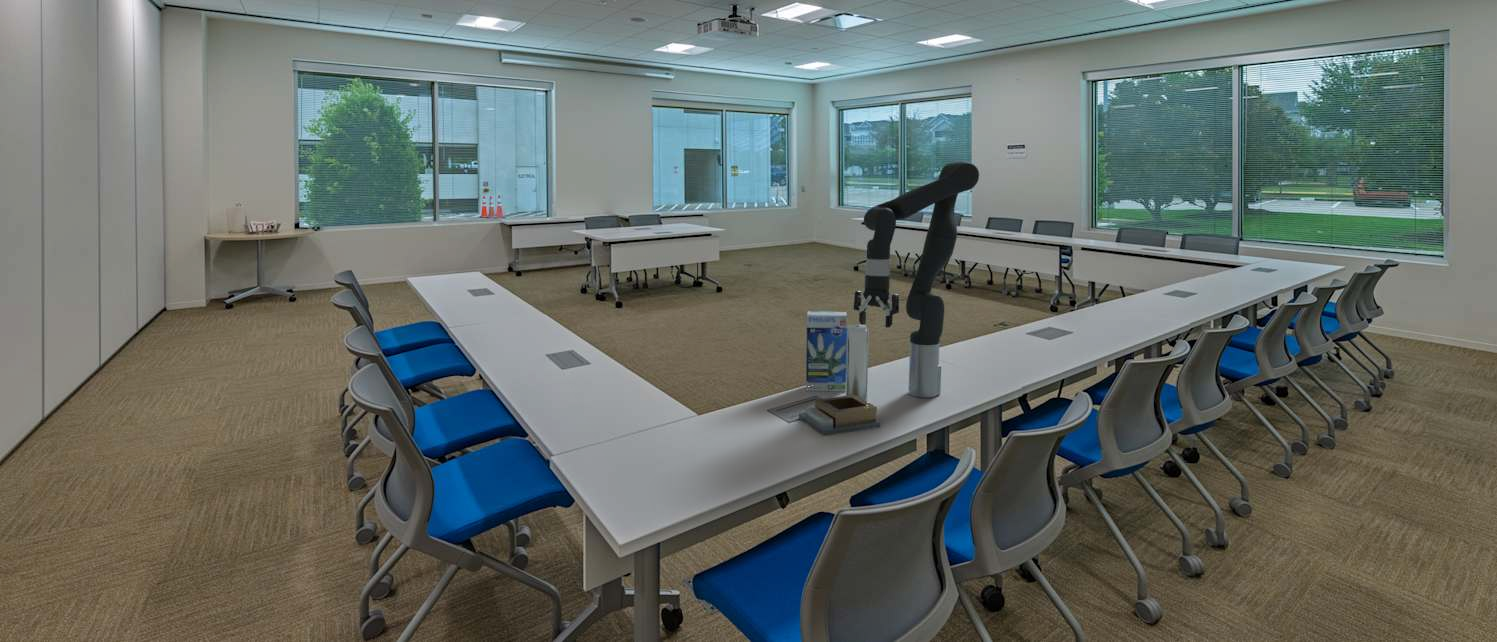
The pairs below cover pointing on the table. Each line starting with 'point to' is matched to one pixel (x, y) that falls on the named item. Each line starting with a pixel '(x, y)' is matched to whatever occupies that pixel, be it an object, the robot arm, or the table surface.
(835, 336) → the string lights box
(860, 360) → the white tall cylinder
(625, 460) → the table surface
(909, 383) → the robot arm
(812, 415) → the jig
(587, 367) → the table surface
